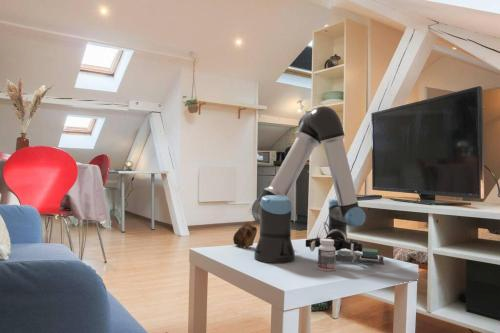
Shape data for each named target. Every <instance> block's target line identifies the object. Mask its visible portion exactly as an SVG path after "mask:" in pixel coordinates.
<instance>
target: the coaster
mask: <svg viewBox="0 0 500 333" xmlns="http://www.w3.org/2000/svg"><path fill="white" fill-rule="evenodd" d="M353 261H354V256H353V255H345V254H335V262H345V263H353Z"/></svg>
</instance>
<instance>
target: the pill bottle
mask: <svg viewBox="0 0 500 333" xmlns="http://www.w3.org/2000/svg"><path fill="white" fill-rule="evenodd" d="M320 244H321V245H320V246H319V247H317V248H318V249H317V252H318V254H317V255H318V256H317V257H318V258H317V268H318V269H319V270H321V271H324V272H325V271H326V272H332V271H335V269H336V261H335V255H336V251H335V247H334V246H333V244H334V240H332V239H323V238H321V239H320Z"/></svg>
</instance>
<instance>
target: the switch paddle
mask: <svg viewBox="0 0 500 333" xmlns="http://www.w3.org/2000/svg"><path fill="white" fill-rule="evenodd" d="M361 252H362V253H360V258H366V259H377V260H378V259H379V255H378V252H379V251H378V249H377V248H376V249H375V248H364V247H362V251H361Z"/></svg>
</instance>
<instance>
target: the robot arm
mask: <svg viewBox="0 0 500 333" xmlns="http://www.w3.org/2000/svg"><path fill="white" fill-rule="evenodd" d="M294 134H295V140H294V141H293V144H292V145H291V146H290V149H289V151H288V152H287V154H286V156H285V158H284V160H283V161H282V163H281V165H280V167H279V169H278V170H277V171H276V174H275V176H274V178H273V179H272V181H271V183H270V184H269V186H268V187H265V188H263V190H262V192H261V194H260V195H259V197H258V198H256V199H255V200H254V202H252V205H251V215H252V217H253V219H254V221H255V222H256V223H257V224H259V238H258V242H257V245H256V247H255V250H254V256H253V257H254V259H255V260H256V261H259V262H265V263H270V264H271V263H272V264H273V263H274V264H284V263H287V264H288V263H293V262H294V261H295V260H296V254H295V250H294V246H293V243H292V238H291V235H292V234H291V233H292V210H293V205H292V199H290V198H289V197H288V196H289V194H290V193H291V190H292V189H293V187H294V186H295V183H297V180H298V178H299V176H300V174H301V172H302V171H303V169H304V167H305V165H306V163H307V162H308V160H309V158H310V156H311V155H312V153H313V150H314V149H315V148H318V147H320V146H321V144H323V148H324V151H325V154H326V159H327V164H328V168H329V171H330V176H331V179H332V184H333V187H334V193H335V196H336V199H330V200H329V202H328V226H327V227H328V230H327V231H328V232H327V233H328V234H327V235H326V237H324V238H321V237H319V236H318V237H314V238H310V239H306V240H305V247H306V248H309V250H310V252H314V251H315V249H316V248H319V246H320V245H321V244H320V239H332V240H334V244H333V246H334V247H335V252H339V251H341V250H342V249H344V250H345V249H346V250H349V251H350V256H353V255H354V252H357V251H358V252H362V250H363V243H359V242H357V241H355V240H353V239H350V240H348V241H347V239H348V233H347V229H348V228H347V226H348V227H354V228H359V227H360V226H362V225H363V224H364V223H365V222H366V212H365V211H364V210H363V209H362V208H361V207H360V206H359V201H358V197H357V194H356V188H355V184H354V181H353V176H352V173H351V167H350V165H349V164H350V163H349V160H348V155H347V151H346V147H345V142H344V137H346V136H345V135H346V134H345V132H344V128H343V124H342V121H341V118H340V117H339V115H338V112H336V110H334V109H333V108H332V107H329V106H326V105H325V106H324V105H322V106H318V107H316V108H314V109H312V110H310V111H307V112H306V113H304V114H303V115H302V116H301V118H299V121H298V125H297V128H296V131H295V133H294Z"/></svg>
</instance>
